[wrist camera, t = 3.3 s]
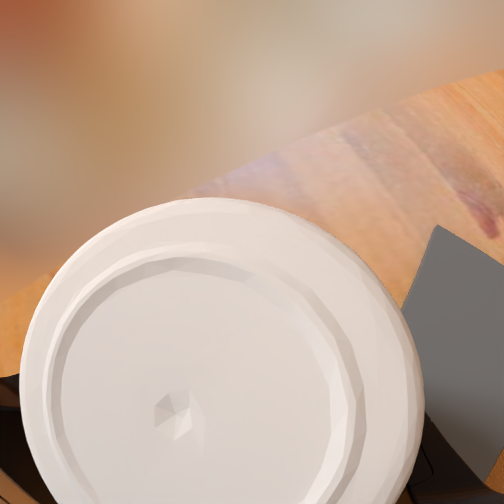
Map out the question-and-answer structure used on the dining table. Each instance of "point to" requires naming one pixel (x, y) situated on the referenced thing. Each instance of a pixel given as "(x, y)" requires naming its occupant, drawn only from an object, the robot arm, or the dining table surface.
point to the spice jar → (220, 365)
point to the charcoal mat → (461, 345)
